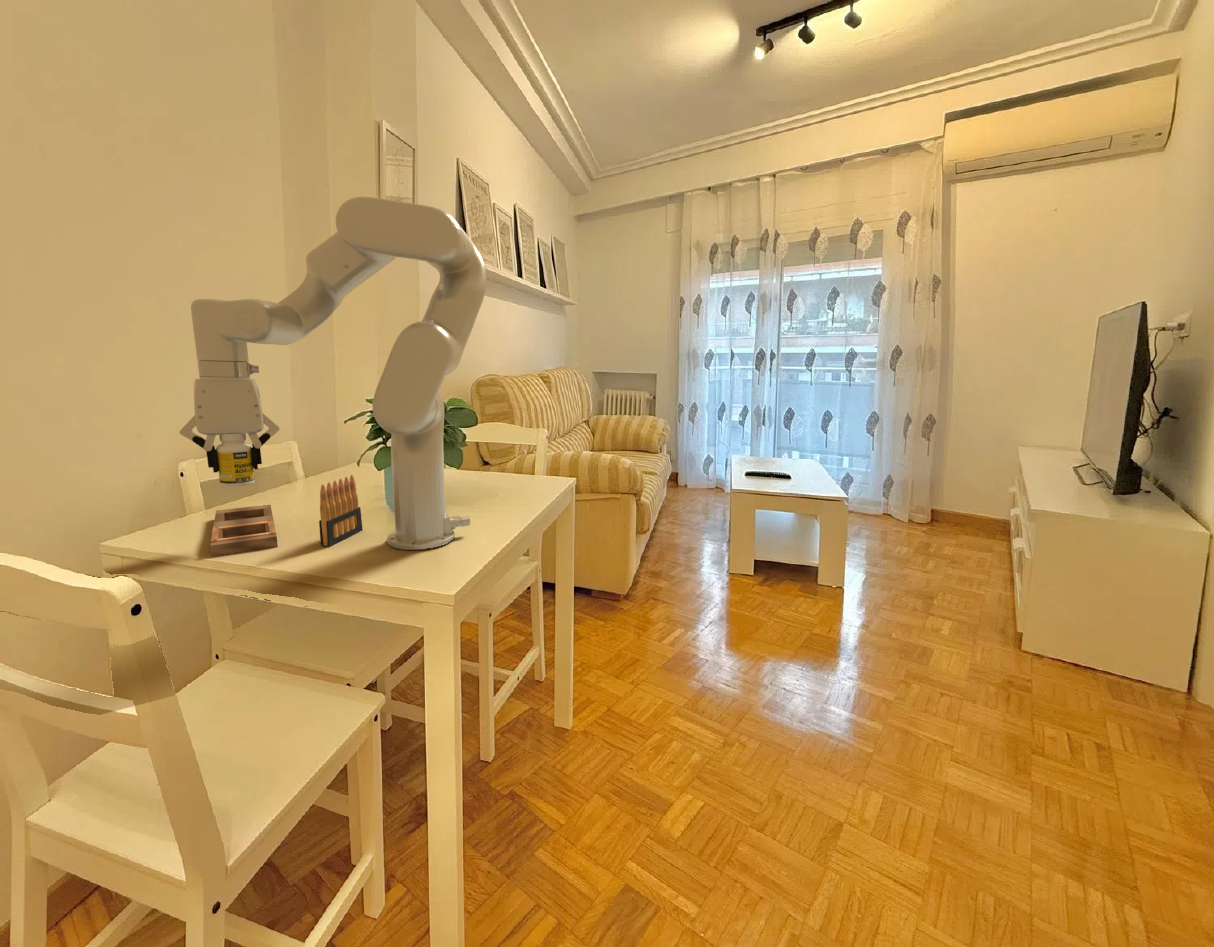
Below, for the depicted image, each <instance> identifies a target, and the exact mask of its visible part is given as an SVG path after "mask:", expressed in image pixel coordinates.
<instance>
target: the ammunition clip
mask: <svg viewBox="0 0 1214 947" xmlns="http://www.w3.org/2000/svg"><path fill="white" fill-rule="evenodd" d="M326 484H327V485H326V487H325V484H324V483H323V484H321V487H320V490H319V497H320V498H319V500H320V502H319V504H320V505H319V512H320V520H319V521H318V523H319V524H318V525H319V537H320V538H319V539H320V541H319V542H320V546H321V547H325V548H331V547H333V546H335V545H337V544H339V543H341V542H343V541H344V540H345V541H346V540H347V539H350V538H351V537H352V536H354V535H356V534H358V533H361V532H363V520H362V512H361V511H362V510H361V509H362V508H361V507H360V506H359V495H358V493H357V486H356V485H357V483H356V480H355V477H354V475H353V474H351V475H350V477H349V478H348V477H347V476H345V478H344V480H343V479H342V478H339V480H338V482H337V481H336V480H333V483H332V485H331V483H330V482H327V483H326ZM360 531H361V532H360Z"/></svg>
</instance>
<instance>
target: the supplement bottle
mask: <svg viewBox="0 0 1214 947" xmlns="http://www.w3.org/2000/svg"><path fill="white" fill-rule="evenodd" d="M218 436H219V441H220V442H221V443H220V444H219V445H217V446H216V448H215V449H216V453H217V462H218V470H219V471H218V478H219V485H220V486H221V487H225V488H226V487H227V488H236V487H237V488H239V487H245V486H250V485H253V484H254V483H255V481H256V480H255V471H254V470H255V469H254V468H253V459H252V450H251V448H252V445H250V444H249V443H246V441H247V436H246V434H224V435H218Z"/></svg>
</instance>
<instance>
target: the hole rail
mask: <svg viewBox="0 0 1214 947" xmlns="http://www.w3.org/2000/svg"><path fill="white" fill-rule="evenodd" d="M278 545H279V544H278V538H277V531H276V525H275V520H274V516H273V510H272V505H271V504H265V505H254V506H244V507H243V506H242V507H237V508H235V507H234V508H228V509H226V508H224V509H217V510H215V515H214V521H213V528H212V531H211V537H210V545H209V548H210V552H211V554H210V555H211V557H215V556H214V555H217V556H221V555H220V554H224V555H226V554H225V553H231V554H235V553H234V552H238V553H243V552H250V551H256V550H257V551H259V550H265V549H270V548H277V547H279V546H278Z"/></svg>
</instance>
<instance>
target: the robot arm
mask: <svg viewBox="0 0 1214 947" xmlns="http://www.w3.org/2000/svg"><path fill="white" fill-rule="evenodd" d="M335 227H336V231H337V232H335V233H333V235H331V236H330V237H328V238H327V239H326V240H325V241H323V242H321V243H320V244H318V246H316V247H315V248H314V249H311V250H310V251H309V252H308V253H307V255H306V256H305V264H306V275H305V278H304V280H303V281H302V283H300V285H299V286H298V287H297V288H296V289H295V290H294V291H292V292H291V293H290V294H288V295H287V296H286V297H285V298H283V299H282V300H280V301H278V302H272V301H267V300H262V299H258V298H257V299H255V298H246V299H245V298H244V299H234V300H226V299H218V298H217V299H216V298H215V299H213V298H199V299H195V300H192V301H191V302H192V303H191V305H190V313H191V320H192V321H191V322H192V329H193V337H194V344H195V353H196V360H197V369H198V376H199V378H195V379H194V384H193V407H194V409H193V410H194V415H193V416H192V418H190V420H189V421H187V422H186V424H185V425H184V426H183V427H182V428H181V429H180V430H179V434H180V435H181V436H183V437H184V438H186V439H188V440H190V441H191V442H193V443H194V444H196V445H197V446H199V447H200V448H201V449H203V450H204V451H206V459H207V466H208V468H212V471H213V473H215V474H216V473H219V470H218V462H217V453H216V448H215V445H214V444H215V443H214V442H215V439H216V437H217V436H219V435H224V434H247V435H248V437H249V439H250V441H251V443H252V444H251V450H252V459H253V469H254V470H259V466H258V465H262V464H263V460H262V453H261V452H262V451H261V449H262V447H263V446H264V445H265V444H266V442H268V440H270V439H271V438H272V437H273V436H274V435H275V434H276V433H278V432H279V431H280V427H279V426H278V424H276V423H275V422H274V421H273V420H272V419H270V418H269V417H268V416H267V415H266V414H264V412H263V406H262V400H261V394H260V391H259V387H258V386H259V385H258V383H257V381H256V379H254V378H252V377H251V375H253V374H259V373H260V369H259V368H260V367H259V365H254V364H251V363H249V360H250V359H249V351H248V350H249V349H248V343H250V344H251V343H252V344H258V345H259V344H260V345H276V346H277V345H279V346H289V345H292V344H294V343H297V342H299V341H301V340H302V339H304V338H305V337H306V336H308V335H310V333H312V332H313V331H315V330H316V329H318V328H319V327H320V326H321V325H323V324H324V323H325V322H326V321H328V319H329V318H330V317H331V316H332V315H333V314H334V313H335V311H336V310H337V308H339V306H340V305H341V304H342V302H343V300H344V298H345V297H347V295H349V294H350V293H351V292H353V291H354V290H355V289H356V288H358V287H359V286H360V285H362V284H363V283H364V282H366V281H367V280H369V279H370V278H371V277H372V276H374V275H375V274H377V273H378V272H380V271H381V270H382V269H384V268H385V267H386V266H388V265H390V263H392V262H393V261H395V259H397V258H404V259H410V260H416V261H421V262H426V263H428V264H429V265H430V266H431V267H433V268H434V269H435V270H437V272H438V273H439V281H438V284H437V286H436V287H435V289H434V291H433V293H432V295H431V297H430V299H429V303H428V305H427V308H426V311H425V313H424V315H423V318H422V320H421V321H416V322H413V323H411V324H409V325H407V326H406V327H405V328H404V329H402V331H401V332H400V333H399V335H398V336H397V337H396V339H395V341H394V344H393V345H392V347H391V350H390V353H389V355H388V358H387V360H386V363H385V365H384V368H383V371H382V373H381V376H380V378H379V381H378V384H377V385H376V386H377V387H376V389H375V392H374V395H373V398H372V407H371V408H372V415H373V417H374V419H375V421H376V423H377V424H378V425H379V427H380V428H382V429H383V430H384V431H385V432H387V433H389V434H391V438H390V456H391V457H390V458H391V465H390V466H391V480H392V494H393V495H392V496H393V512H394V526H395V528H394V529H395V530H393V531H392V532H390V533H389V534H388V535H387V538H386V539H387V544H388V545H389V546H391V547H392V548H395V549H399V550H404V551H405V550H406V551H407V550H408V551H409V550H410V551H420V550H428V549H427V548H430V549H435V548H438V546H439V547H442V546H444V545H443V544H445V545H447V544H449V543H450V542H449V541H451V540H452V541H454V539H455V537H454V536H456V534H455V529H456V528H458V527H459V528H462V527H463V528H464V527H468V526H470V525H471V519H470V516H468V515H467V516H463V517H461V516H460V515H454V516H453V515H452V516H449V515H448V514H447V513H446V512H447V510H446V496H445V495H446V489H445V488H446V486H445V485H446V484H445V483H446V482H445V461H444V459H445V458H444V457H445V454H444V428H445V426H444V425H445V405H444V400H443V397H442V395H441V393H440V390H441V388H442V385H443V383H444V381H445V377H446V376H448V375H449V374H452V373H453V372H454V371H455V370H456V369H457V368H458V366H459V364H460V362H461V360H462V357H463V353H464V351H465V349H466V345H467V343H468V341H469V338H470V335H471V333H472V330H473V328H474V325H475V322H476V319H477V316H478V315H479V312H480V310H481V307H482V304H483V302H484V299H485V295H486V292H487V291H486V290H487V284H488V282H487V281H488V277H487V275H488V274H487V268H486V264H485V261H484V258H483V257H482V255H481V253H480V251H479V250H478V249H477V246H476V245H475V244H474V242H473V241H472V240H471V238H470V237H469V236H468V234H467V233H466V232H465V230H464V229H463V228H462V226H460V224H459V223H458V221H457V220H456V219H455V218H454V217H453V215H451V214H449V213H448V212H446V211H444V210H443V209H441V208H438V207H433V206H430V205H429V206H428V205H423V204H418V203H417V204H415V203H410V202H405V201H404V202H403V201H397V200H391V199H385V198H378V197H372V196H357V197H356V196H355V197H352V198H349V199H348V200H346V201H345V202H343V203H342V204H341V205H340V206H339V207H338V210H337V212H336V216H335ZM251 378H252V379H251ZM264 425H265V426H266V427H268V429H267V430H266V431H265V432H263V433H262V434H261V435H260V436H258V434H257V433H260V432H262V431H263V429H264ZM195 427H196V430H197V432H198V433H199V434H202V435H206V438H203V437H202V436H200V435H198V434H197V433H195V432H193V430H194V428H195ZM453 538H454V539H453ZM452 541H451V542H452ZM448 542H449V543H448ZM441 545H442V546H441ZM434 547H435V548H434Z"/></svg>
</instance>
